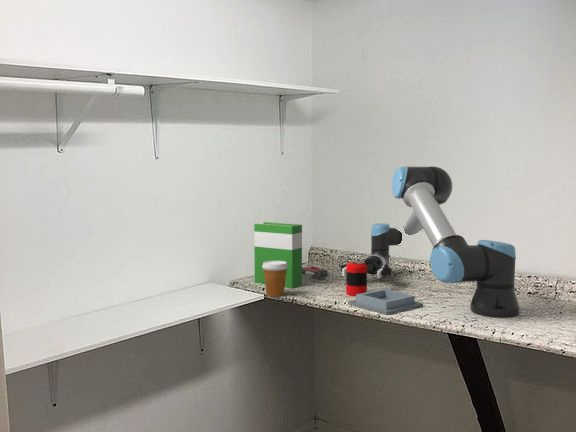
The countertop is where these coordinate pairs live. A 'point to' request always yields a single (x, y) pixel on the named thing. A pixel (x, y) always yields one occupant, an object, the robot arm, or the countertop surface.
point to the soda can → (356, 278)
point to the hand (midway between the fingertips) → (360, 273)
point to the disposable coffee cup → (275, 277)
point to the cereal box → (279, 250)
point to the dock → (385, 301)
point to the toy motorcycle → (314, 272)
